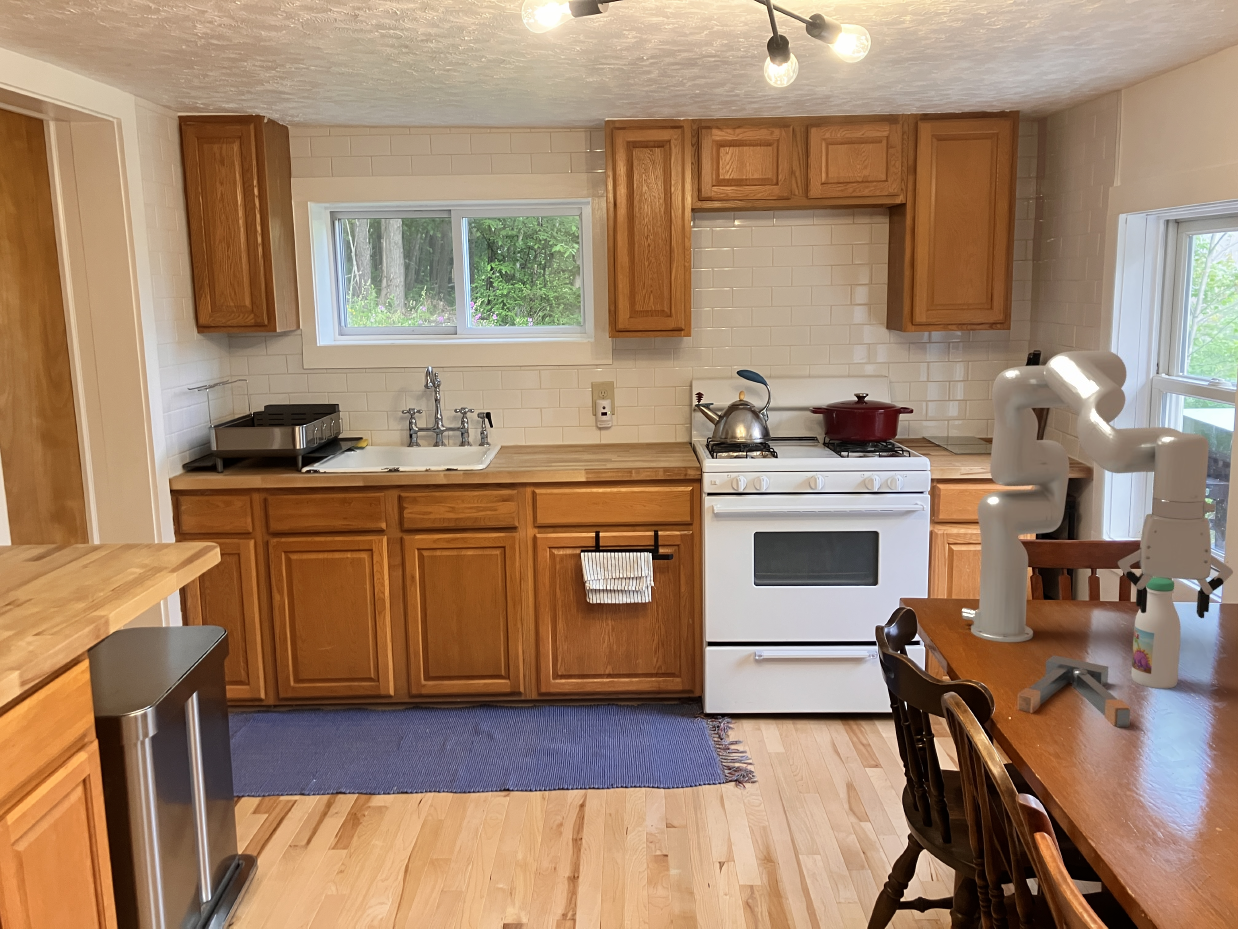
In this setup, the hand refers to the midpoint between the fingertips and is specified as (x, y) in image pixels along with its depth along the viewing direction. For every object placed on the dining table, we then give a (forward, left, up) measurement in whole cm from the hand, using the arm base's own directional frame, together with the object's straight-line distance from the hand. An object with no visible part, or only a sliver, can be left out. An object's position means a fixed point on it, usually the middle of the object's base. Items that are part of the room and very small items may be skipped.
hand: (1171, 612), depth 166 cm
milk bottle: (-7, +21, -20) cm, 30 cm away
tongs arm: (-11, +3, -20) cm, 23 cm away
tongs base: (-18, +3, -20) cm, 27 cm away
